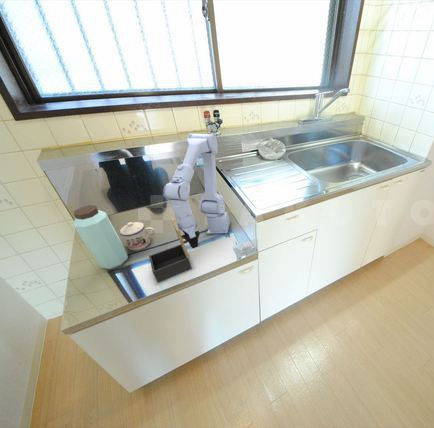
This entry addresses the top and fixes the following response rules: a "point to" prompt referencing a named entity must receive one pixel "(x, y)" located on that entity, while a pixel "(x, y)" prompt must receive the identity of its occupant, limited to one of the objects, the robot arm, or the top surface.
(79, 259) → the top surface
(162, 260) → the black open-top bin
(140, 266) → the top surface
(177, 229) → the tan elongated piece
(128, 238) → the teacup with lid
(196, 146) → the robot arm
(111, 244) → the water bottle
